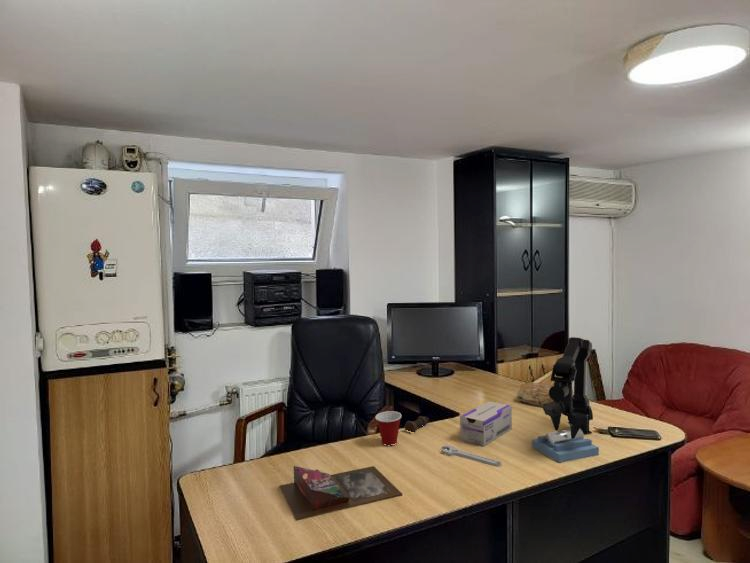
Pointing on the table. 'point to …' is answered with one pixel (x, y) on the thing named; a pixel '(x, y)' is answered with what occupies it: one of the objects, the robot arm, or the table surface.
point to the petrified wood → (534, 394)
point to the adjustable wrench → (469, 456)
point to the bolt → (416, 423)
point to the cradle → (566, 449)
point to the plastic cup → (388, 426)
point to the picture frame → (335, 491)
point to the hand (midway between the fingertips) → (564, 434)
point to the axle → (562, 437)
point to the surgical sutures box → (485, 423)
